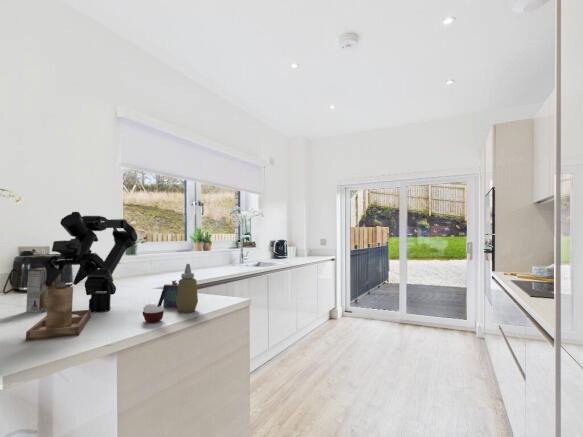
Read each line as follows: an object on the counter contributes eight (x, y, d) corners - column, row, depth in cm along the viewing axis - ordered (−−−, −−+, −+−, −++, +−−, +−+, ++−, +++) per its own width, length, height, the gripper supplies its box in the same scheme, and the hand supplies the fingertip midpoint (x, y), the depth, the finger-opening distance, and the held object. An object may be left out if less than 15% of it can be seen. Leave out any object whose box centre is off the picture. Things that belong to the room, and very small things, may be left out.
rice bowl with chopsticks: (139, 322, 105) (138, 286, 106) (157, 318, 110) (156, 283, 110) (151, 326, 99) (150, 288, 99) (170, 322, 103) (169, 285, 104)
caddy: (90, 316, 110) (91, 309, 111) (78, 335, 89) (79, 326, 90) (49, 320, 105) (49, 312, 105) (25, 341, 84) (26, 331, 84)
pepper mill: (71, 326, 96) (73, 280, 97) (63, 330, 91) (66, 282, 92) (54, 327, 95) (56, 281, 96) (45, 331, 90) (48, 283, 91)
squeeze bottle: (177, 314, 114) (178, 265, 115) (174, 310, 121) (175, 263, 122) (199, 312, 117) (200, 264, 119) (195, 308, 125) (196, 262, 126)
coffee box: (48, 306, 126) (50, 266, 127) (61, 307, 125) (63, 267, 126) (25, 312, 117) (27, 269, 118) (39, 312, 116) (41, 269, 117)
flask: (161, 306, 127) (162, 280, 127) (166, 305, 129) (167, 279, 130) (180, 308, 124) (181, 281, 124) (185, 307, 126) (186, 280, 127)
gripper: (39, 232, 103) (13, 274, 93) (93, 228, 102) (72, 270, 92) (62, 251, 111) (40, 291, 101) (111, 247, 110) (94, 287, 100)
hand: (60, 285), depth 98 cm, fingers open, 9 cm apart
